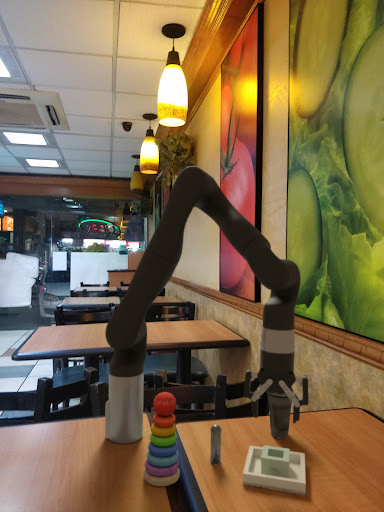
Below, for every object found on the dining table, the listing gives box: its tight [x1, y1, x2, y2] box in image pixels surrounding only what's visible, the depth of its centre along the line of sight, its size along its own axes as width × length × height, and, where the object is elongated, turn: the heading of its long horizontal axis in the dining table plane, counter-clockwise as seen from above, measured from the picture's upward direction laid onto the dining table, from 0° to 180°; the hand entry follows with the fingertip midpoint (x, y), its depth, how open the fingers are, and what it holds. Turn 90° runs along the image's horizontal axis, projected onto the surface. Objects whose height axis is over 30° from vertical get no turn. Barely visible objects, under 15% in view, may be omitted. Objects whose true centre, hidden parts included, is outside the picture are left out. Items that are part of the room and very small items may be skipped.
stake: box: [210, 424, 222, 465], centre depth 95 cm, size 3×3×9 cm
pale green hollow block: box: [261, 444, 291, 478], centre depth 90 cm, size 7×6×4 cm
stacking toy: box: [143, 391, 181, 487], centre depth 88 cm, size 8×8×19 cm
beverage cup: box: [266, 391, 293, 440], centre depth 109 cm, size 7×7×20 cm
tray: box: [242, 445, 307, 496], centre depth 90 cm, size 13×13×2 cm
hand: (274, 419), depth 90 cm, fingers open, 8 cm apart
